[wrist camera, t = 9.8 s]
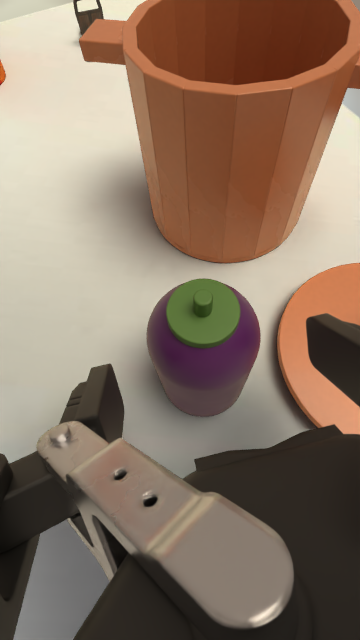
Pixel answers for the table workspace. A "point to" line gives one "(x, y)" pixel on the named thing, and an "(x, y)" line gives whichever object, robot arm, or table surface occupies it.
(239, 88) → the pot
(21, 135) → the table surface
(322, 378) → the lid
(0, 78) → the coffee cup
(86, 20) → the strap clip
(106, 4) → the table surface
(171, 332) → the aubergine
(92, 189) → the table surface
